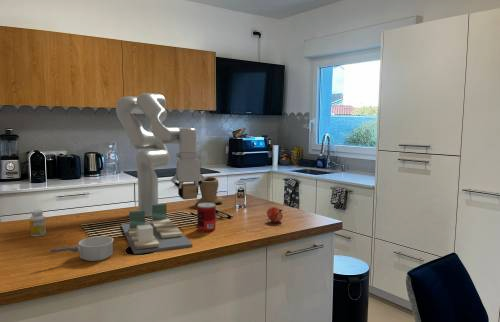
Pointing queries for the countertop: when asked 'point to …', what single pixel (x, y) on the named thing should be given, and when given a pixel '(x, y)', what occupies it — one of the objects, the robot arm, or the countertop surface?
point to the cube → (189, 191)
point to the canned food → (206, 217)
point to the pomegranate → (274, 214)
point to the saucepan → (92, 248)
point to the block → (144, 233)
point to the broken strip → (136, 220)
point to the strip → (163, 222)
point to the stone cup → (209, 191)
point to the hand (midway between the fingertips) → (188, 195)
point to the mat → (163, 242)
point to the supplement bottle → (37, 223)
